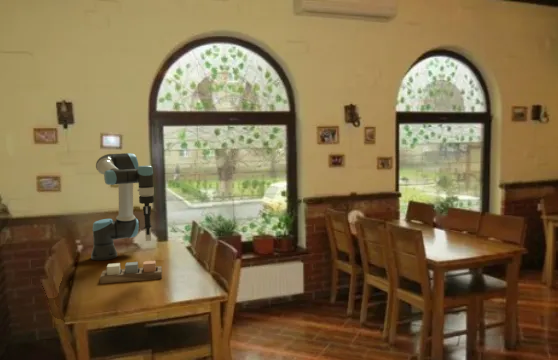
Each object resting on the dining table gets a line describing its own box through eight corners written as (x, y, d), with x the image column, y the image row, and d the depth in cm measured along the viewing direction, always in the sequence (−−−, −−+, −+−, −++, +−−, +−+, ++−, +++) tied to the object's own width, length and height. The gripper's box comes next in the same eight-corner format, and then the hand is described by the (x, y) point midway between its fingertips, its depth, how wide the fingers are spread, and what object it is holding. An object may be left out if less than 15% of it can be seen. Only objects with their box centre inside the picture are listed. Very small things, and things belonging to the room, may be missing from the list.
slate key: (126, 271, 254) (126, 262, 254) (138, 270, 255) (137, 261, 255) (125, 274, 248) (125, 265, 248) (137, 273, 250) (137, 264, 249)
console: (103, 276, 255) (103, 270, 254) (161, 272, 261) (161, 265, 261) (100, 283, 243) (100, 276, 243) (161, 278, 250) (161, 271, 249)
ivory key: (108, 272, 252) (108, 264, 252) (120, 271, 253) (120, 263, 253) (107, 275, 246) (106, 267, 246) (119, 274, 248) (119, 266, 247)
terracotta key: (144, 269, 256) (143, 261, 256) (155, 268, 257) (155, 260, 257) (143, 272, 250) (143, 264, 250) (155, 271, 252) (155, 263, 251)
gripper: (139, 194, 257) (141, 237, 259) (138, 197, 242) (140, 243, 244) (154, 193, 258) (156, 236, 260) (153, 196, 244) (155, 242, 246)
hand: (148, 239), depth 252 cm, fingers closed
